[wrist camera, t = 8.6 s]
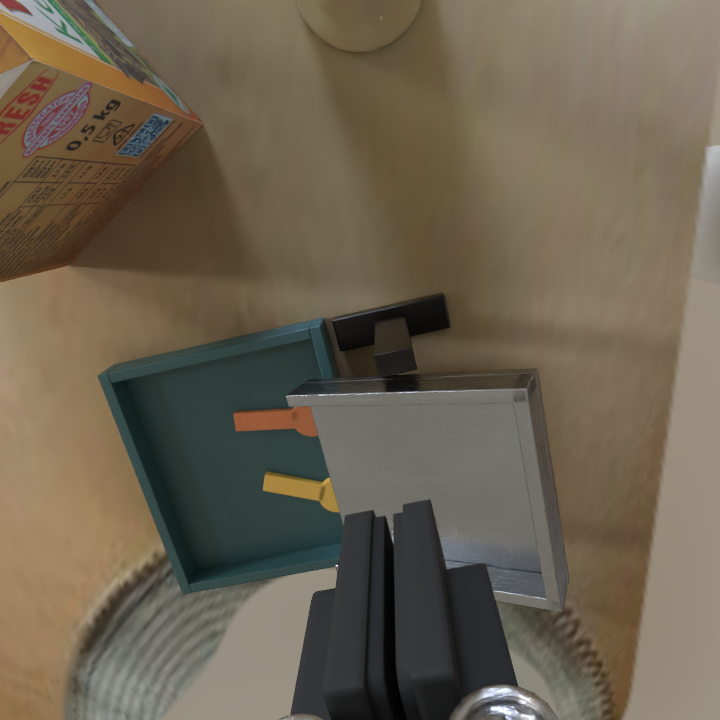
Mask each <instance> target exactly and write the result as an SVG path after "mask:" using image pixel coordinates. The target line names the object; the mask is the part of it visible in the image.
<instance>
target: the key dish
mask: <svg viewBox="0 0 720 720" xmlns="http://www.w3.org/2000/svg"><path fill="white" fill-rule="evenodd" d="M286 399H287V403H288V406H289V407H310V408H311V412H312V416H313V419H314V423H315V426H316V430H317V433H318V437H319V441H320V444H321V448H322V451H323V455H324V458H325V462H326V466H327V469H328V473H329V476H330V480H331V483H332V487H333V491H334V494H335V498H336V501H337V505H338V508H339V512H340V516H341V519H342V523H343V526H344V518H345V515H348V514H354V513H359V512H364V511H370V510H373V511H374V512H375V515H376V517H379V516H386V519H387V522H388V526H389V529H390V533H391V537H392V541H393V545H394V539H393V514H395V513H401V512H403V504H407V503H412V502H418V501H423V500H429V499H430V500H431V503H432V507H433V511H434V516H435V520H436V524H437V529H438V533H439V537H440V541H441V546H442V550H443V554H444V559H445V563H446V567H447V569H451V568H456V567H462V566H468V565H474V564H480V563H486V567H487V570H488V574H489V578H490V582H491V585H492V589H493V593H494V597H495V601H498V602H504V603H510V604H516V605H522V606H528V607H534V608H539V609H545V610H551V611H557V612H562V609H563V605H564V601H565V597H566V592H567V588H568V584H569V573H568V567H567V560H566V553H565V547H564V540H563V534H562V527H561V520H560V514H559V507H558V500H557V494H556V487H555V480H554V474H553V467H552V460H551V454H550V447H549V441H548V434H547V427H546V421H545V414H544V407H543V401H542V394H541V387H540V381H539V374H538V369H537V368H533V369H512V370H491V371H470V372H450V373H429V374H408V375H390V376H385V377H379V376H366V377H345V378H324V379H308V380H307V381H305V382H304V383H303V384H301V385H300V386H298V387H297V388H296V389H294V390H293V391H291V392H290V393H289V394H287V395H286ZM338 565H339V561H338V562H337V563H336V565H335V567H336V570H337V573H338Z"/></svg>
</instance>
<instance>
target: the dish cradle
mask: <svg viewBox="0 0 720 720" xmlns="http://www.w3.org/2000/svg"><path fill="white" fill-rule="evenodd" d="M333 326H334V329H335V333H336V337H337V341H338V345H339V349H340V351H347V350H351V349H356V348H360V347H365V346H369V345H374V359H375V363H376V367H377V371H378V375H379V377H385V376H390V375H394V374H399V373H404V372H409V371H413V370H417V366H416V362H415V357H414V353H413V348H412V344H411V339H410V337H411V336H415V335H420V334H424V333H429V332H433V331H438V330H443V329H447V328H450V321H449V316H448V311H447V305H446V300H445V296H444V294H443V293H439V294H435V295H430V296H426V297H421V298H417V299H412V300H408V301H404V302H399V303H395V304H390V305H386V306H381V307H377V308H372V309H368V310H364V311H359V312H355V313H350V314H346V315H341V316H337V317H334V318H333Z"/></svg>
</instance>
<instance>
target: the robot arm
mask: <svg viewBox="0 0 720 720" xmlns="http://www.w3.org/2000/svg"><path fill="white" fill-rule="evenodd" d="M393 539H394V545H393V541H392V537H391V533H390V529H389V526H388V522H387V519H386V516H379V517H376V515H375V512H374V511H373V510H370V511H364V512H359V513H354V514H348V515H345V518H344V526H343V534H342V541H341V549H340V557H339V565H338V573H337V580H336V588H334V589H329V590H323V591H317V592H315V593H314V594H313V597H312V600H311V606H310V610H309V616H308V621H307V627H306V632H305V638H304V643H303V649H302V654H301V660H300V665H299V671H298V676H297V682H296V687H295V693H294V698H293V704H292V709H291V715H289V716H285V717H283V718H281V719H278V720H559V719H558V717H557V716H556V714H555V713H554V712H553V710H552V709H551V707H550V706H549V705H548V703H546V702H545V701H544V700H542V699H541V698H540V697H539V696H537V695H536V694H535V693H533V692H531V691H528V690H526V689H523V688H521V687H519V686H518V684H517V680H516V676H515V672H514V669H513V665H512V661H511V657H510V654H509V650H508V646H507V642H506V638H505V635H504V631H503V627H502V623H501V619H500V616H499V612H498V608H497V604H496V601H495V597H494V593H493V589H492V585H491V582H490V578H489V574H488V570H487V567H486V563H480V564H474V565H468V566H462V567H456V568H451V569H447V567H446V563H445V559H444V554H443V550H442V546H441V541H440V537H439V533H438V529H437V524H436V520H435V516H434V511H433V507H432V503H431V500H430V499H429V500H423V501H418V502H412V503H407V504H403V512H401V513H395V514H393Z"/></svg>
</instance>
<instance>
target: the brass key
mask: <svg viewBox="0 0 720 720" xmlns="http://www.w3.org/2000/svg"><path fill="white" fill-rule="evenodd" d="M263 491H267V492H273V493H278V494H284V495H289V496H295V497H300V498H306V499H311V500H317V501H320V503H321V505H322V506H323V507H324V508H325V509H327V510H329V511H331V512H339V508H338V505H337V501H336V498H335V494H334V491H333V487H332V483H331V480H330V478H327V479H326V480H324V481H323V482H322V481H316V480H311V479H305V478H300V477H295V476H289V475H284V474H278V473H273V472H268V471H267V472H266V473H265V478H264V485H263Z"/></svg>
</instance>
